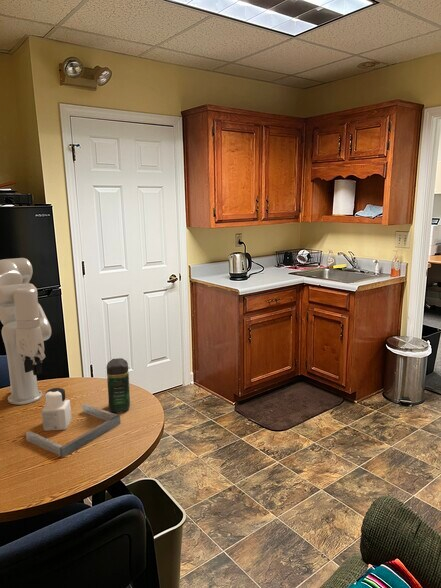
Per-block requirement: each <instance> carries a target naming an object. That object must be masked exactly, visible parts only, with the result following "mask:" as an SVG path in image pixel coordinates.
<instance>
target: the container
mask: <svg viewBox="0 0 441 588" xmlns="http://www.w3.org/2000/svg"><path fill="white" fill-rule="evenodd" d="M65 391H66V390H65V389H63V388H61V387H54V388H50V389H48V390H46V391H45V393H44V401H45V402H44V403H45V404H44V405H43V408H42V409H41V417H42V418H41V420H42V427H43V431H61V430H62V431H63V430H64V431H65V430H67V428H68V427H69V425H70V423H71V421H72V409H71V400H70V399H66V398H67V397H66V392H65Z"/></svg>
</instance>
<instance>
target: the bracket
mask: <svg viewBox="0 0 441 588" xmlns="http://www.w3.org/2000/svg"><path fill="white" fill-rule="evenodd" d="M81 405H82V407H81V408H82V413H85V414H87V415H89V416H92V417H95V418H97V419H101V420H102V421H103V420H104V422H103V423H101V424H99V425H97V426H95V427H94V428H91V429H90V430H88V431H87V432H85V433H83V434H81V435H79V436H77V437H76V438H74V439H71V441H68V442H67V443H65V444H63V445H62V444H60V443H57V442H56V441H53V440H51V439H49V438H47V437H46V438H45V437H44V436H42V435H39V434H38V433H36V432H33V431H30V430H28V431H26V432H25V437H26V441H27V442H29V443H31V444H32V445H36V446H37V447H40V448H42V449H44V450H46V451H48V452H50V453H52V454H55V455H57V456H59V457H61V458H65V457H66V456H68V455H69V454H71V453H73V452H75V451H77V450H78V449H80V448H82V447H83V446H85V445H87V444H88V443H90V442H92V441H93V440H95V439H97V438H98V437H100V436H102V435H104V434H106V433H107V432H109V431H110V430H112V429H114V428H116V427H117V426H119V425H120V424H121V421H122V420H121V415H119V414H116V413H115V412H111V411H108V410H106V409H105V410H104V409H102V408H100V407H97V406H94V405H91V404H87V403H83V404H81Z"/></svg>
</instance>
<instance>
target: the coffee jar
mask: <svg viewBox="0 0 441 588" xmlns="http://www.w3.org/2000/svg"><path fill="white" fill-rule="evenodd" d="M106 380H107V395H108V396H107V397H108V398H107V399H108V409H109V412H111V413H122V412H126V411H128V410H129V409H130V407H131V396H130V373H129V363H128V361H127V360H125V359H124V358H123V357H121V358H120V357H119V358H112V359H111V360H109V361H108V362H107V363H106Z"/></svg>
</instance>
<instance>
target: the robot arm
mask: <svg viewBox="0 0 441 588" xmlns="http://www.w3.org/2000/svg"><path fill="white" fill-rule="evenodd" d="M33 273H34V272H33V265H32V263H31V262H30V260H29V259H28V258H25V257H19V258H18V257H16V258H4V259H0V322H1V324H2V325H3V326H2V329H1V337H2V340H3V341H2V342H3V343H4V347H5V352H6V358H7V365H8V373H9V375H8V376H9V381H10V386H8V388H7V389H8V390H10V393H11V394H10V395H8V397H7V402H8V403H9V404H12V405H19V406H20V405H21V406H22V405H28V404H32V403H34V402H36V401H39V400H40V399H41V398H42V397H43V390H41V389H38V381H37V379H38V378H37V376H38V375H40V374H42V373H43V366H42V363H43V360H44V359H45V358H46V354H45V342H44V341H48V340H49V339H50V338H51V336H52V326H51V324H50V321H49V320H48V318H47V316H46V314H45V311H44V309H43V307H42V305H41V304H40V303H39V301H38V300H39V299H38V296H39V294H38V289H37V287H36V286H35V285H34V284H33V283H30V281H31V279H32V276H33Z"/></svg>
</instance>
